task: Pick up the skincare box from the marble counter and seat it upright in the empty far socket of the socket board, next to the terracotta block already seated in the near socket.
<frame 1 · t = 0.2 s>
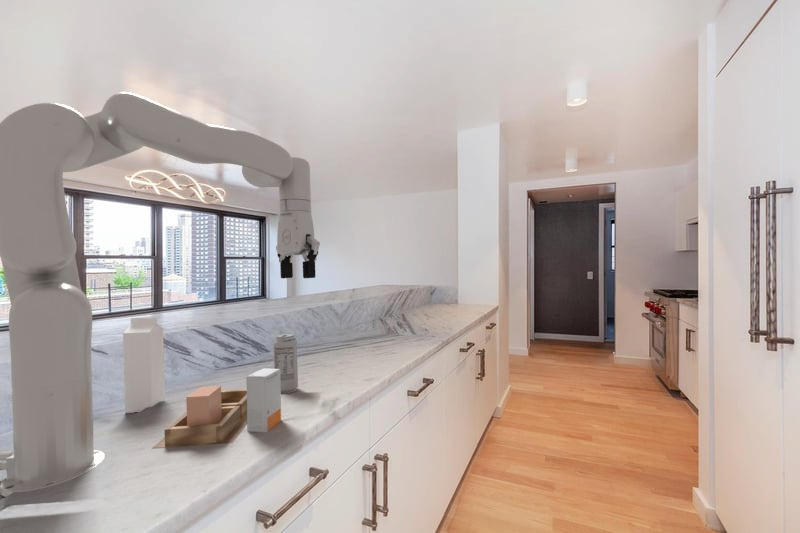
hand: (297, 278, 92), 31 cm above the worktop, tool pointing down, fingers open, 9 cm apart
skincare box: (265, 432, 75), on the worktop
socket board: (216, 426, 78), on the worktop
terracotta block: (205, 432, 73), point 1 cm above the worktop, touching socket board
energy drink can: (286, 391, 100), on the worktop
milk: (145, 408, 90), on the worktop
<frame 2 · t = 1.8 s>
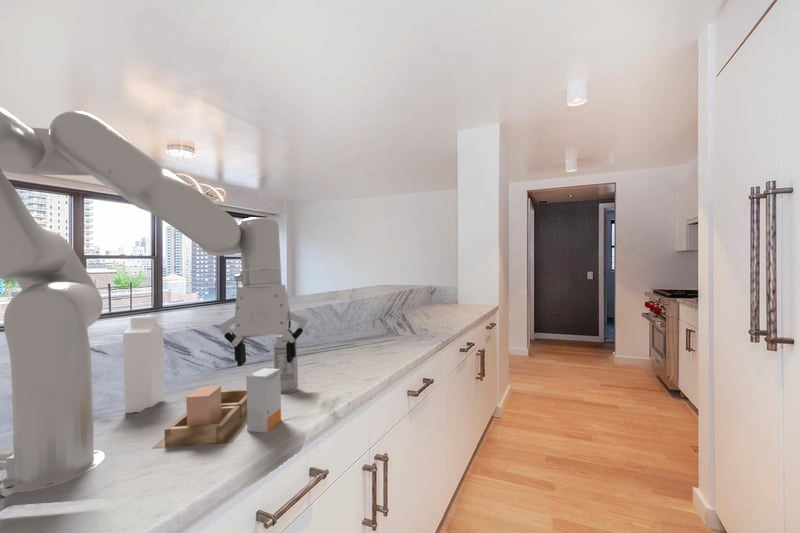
hand: (266, 362, 75), 14 cm above the worktop, tool pointing down, fingers open, 9 cm apart
nothing on the worktop moved.
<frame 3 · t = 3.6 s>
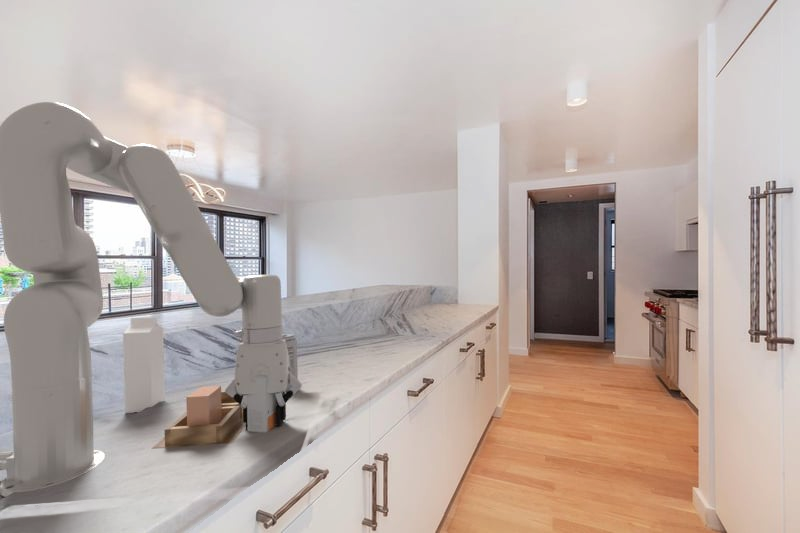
hand: (265, 423, 75), 1 cm above the worktop, tool pointing down, fingers closed on skincare box, 5 cm apart
skincare box: (265, 431, 75), on the worktop, touching gripper
everything else where it was.
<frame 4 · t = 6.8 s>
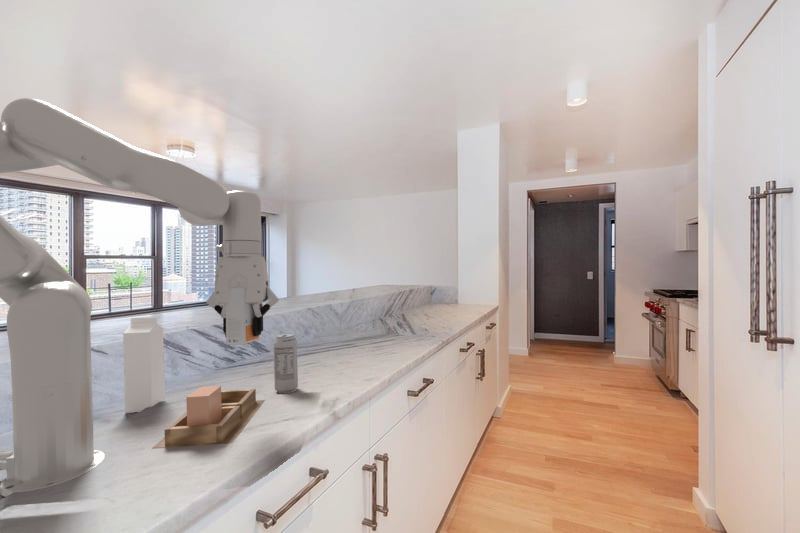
hand: (243, 334, 79), 19 cm above the worktop, tool pointing down, fingers closed on skincare box, 5 cm apart
skincare box: (243, 343, 78), point 17 cm above the worktop, touching gripper
everything else where it was.
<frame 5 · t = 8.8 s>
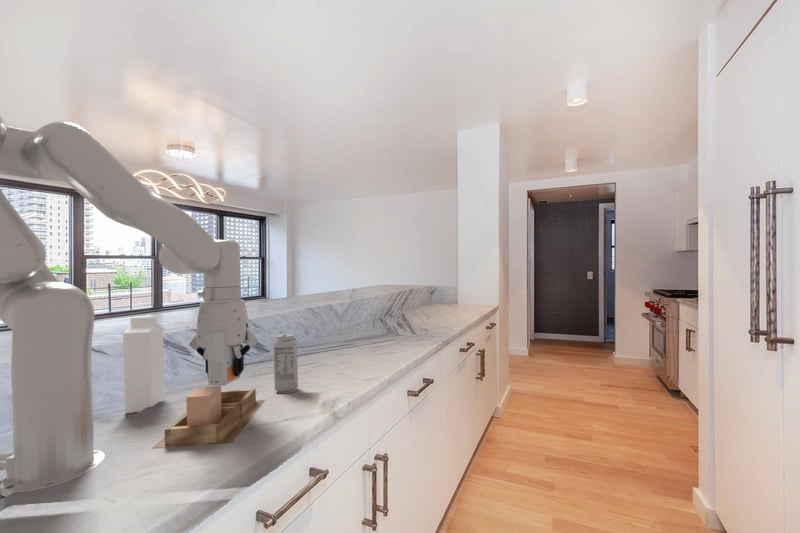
hand: (225, 374, 83), 9 cm above the worktop, tool pointing down, fingers closed on skincare box, 5 cm apart
skincare box: (225, 382, 83), point 8 cm above the worktop, touching gripper
everything else where it was.
when the fingers open (5 cm above the worktop, at t = 10.2 s): skincare box drops 2 cm, resting on socket board.
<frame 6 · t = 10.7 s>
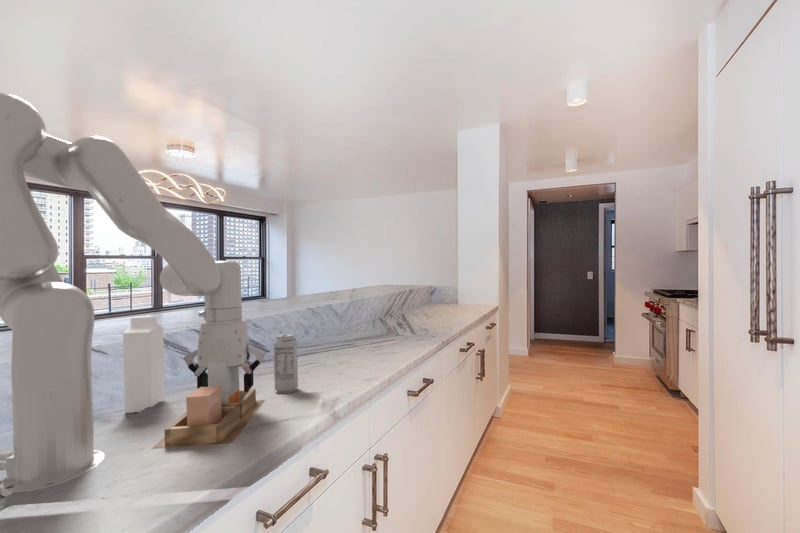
hand: (225, 391, 84), 6 cm above the worktop, tool pointing down, fingers open, 9 cm apart
skincare box: (225, 411, 83), point 1 cm above the worktop, touching socket board
everything else where it was.
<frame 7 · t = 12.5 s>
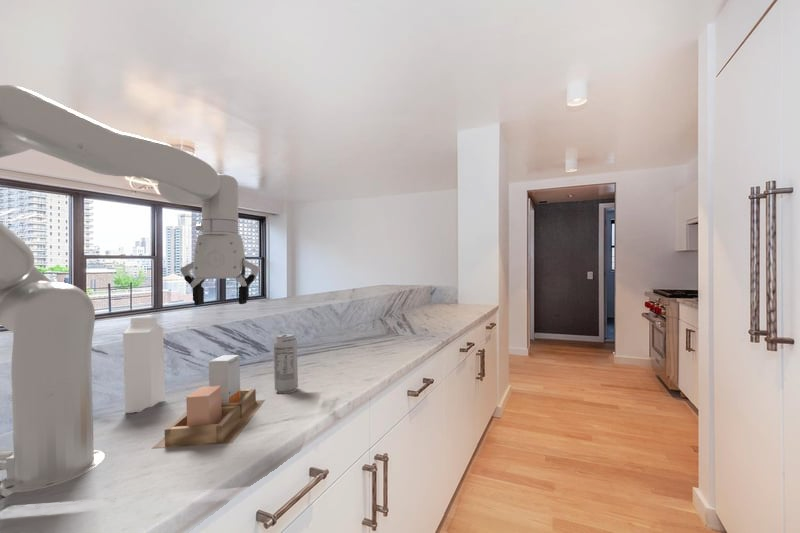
hand: (221, 304, 84), 25 cm above the worktop, tool pointing down, fingers open, 9 cm apart
nothing on the worktop moved.
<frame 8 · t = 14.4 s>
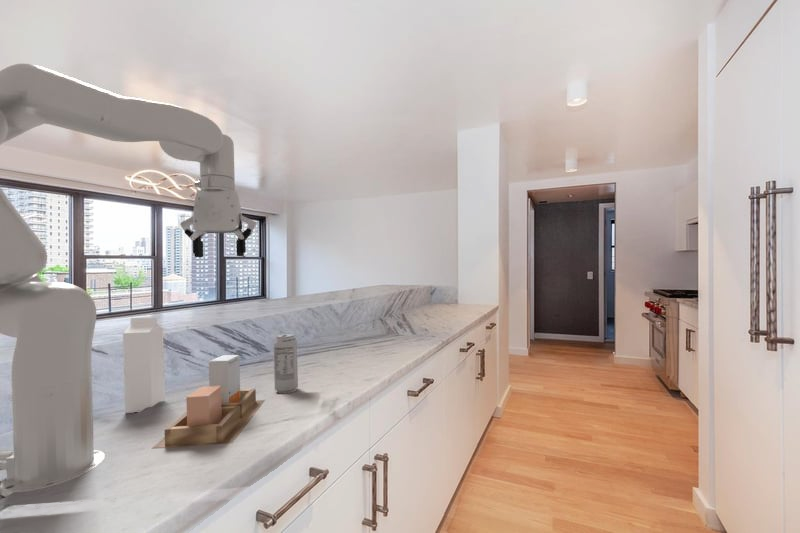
hand: (219, 256, 90), 36 cm above the worktop, tool pointing down, fingers open, 9 cm apart
nothing on the worktop moved.
at the end: skincare box 0.2 cm from the target spot on the socket board, point 1.0 cm above the socket board's base; skincare box tilted 0°; the gripper is holding nothing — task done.
